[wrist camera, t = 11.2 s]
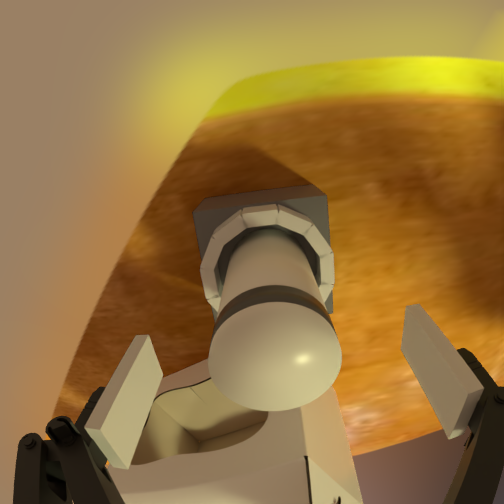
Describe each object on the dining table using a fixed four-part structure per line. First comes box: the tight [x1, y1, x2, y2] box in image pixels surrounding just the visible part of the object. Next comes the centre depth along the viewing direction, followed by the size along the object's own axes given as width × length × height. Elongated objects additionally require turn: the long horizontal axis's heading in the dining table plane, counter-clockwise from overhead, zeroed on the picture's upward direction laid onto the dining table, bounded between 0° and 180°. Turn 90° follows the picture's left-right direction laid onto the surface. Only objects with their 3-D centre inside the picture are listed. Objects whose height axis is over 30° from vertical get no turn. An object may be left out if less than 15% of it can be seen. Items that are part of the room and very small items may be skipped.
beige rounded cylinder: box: [208, 229, 342, 411], centre depth 19 cm, size 6×6×12 cm
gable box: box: [107, 359, 363, 504], centre depth 24 cm, size 22×13×28 cm, turn 122°
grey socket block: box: [192, 184, 335, 323], centre depth 27 cm, size 10×10×8 cm
